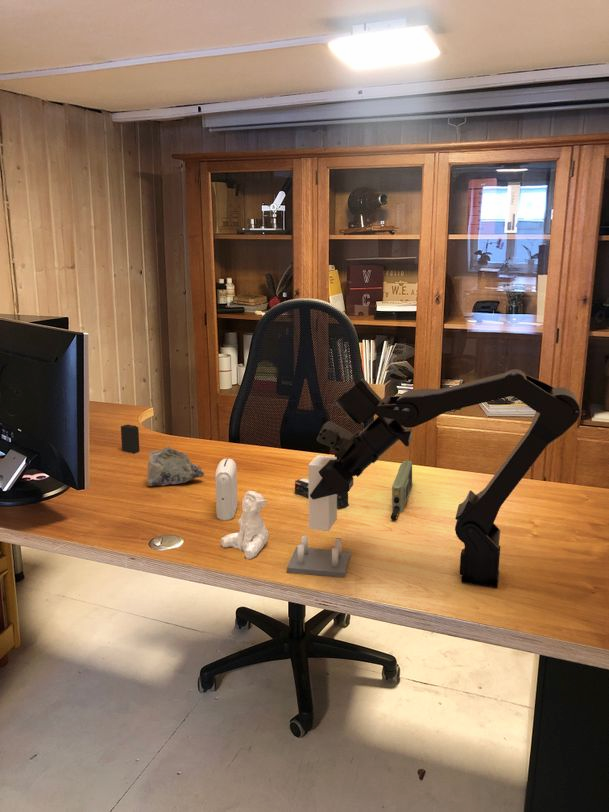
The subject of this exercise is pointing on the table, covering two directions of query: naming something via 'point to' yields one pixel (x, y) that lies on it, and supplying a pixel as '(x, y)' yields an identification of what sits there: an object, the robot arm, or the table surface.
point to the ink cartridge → (130, 438)
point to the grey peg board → (319, 560)
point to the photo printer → (226, 489)
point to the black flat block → (303, 490)
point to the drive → (321, 508)
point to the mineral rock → (171, 468)
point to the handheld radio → (401, 488)
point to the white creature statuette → (249, 527)
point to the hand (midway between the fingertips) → (316, 491)
